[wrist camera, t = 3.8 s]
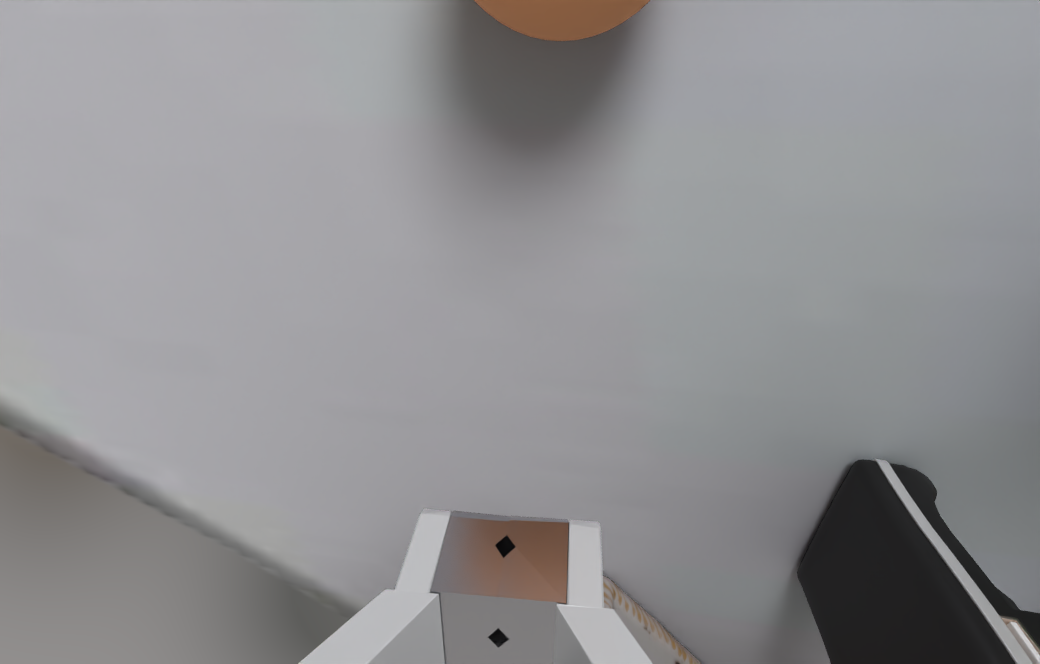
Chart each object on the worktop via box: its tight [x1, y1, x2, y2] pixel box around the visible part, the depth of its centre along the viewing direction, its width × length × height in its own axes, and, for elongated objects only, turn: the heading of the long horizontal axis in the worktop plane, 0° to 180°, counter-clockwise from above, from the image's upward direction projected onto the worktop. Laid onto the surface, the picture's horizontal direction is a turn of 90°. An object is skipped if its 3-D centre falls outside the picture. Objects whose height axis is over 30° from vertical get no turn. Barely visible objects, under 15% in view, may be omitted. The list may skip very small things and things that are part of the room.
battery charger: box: [797, 459, 1040, 664], centre depth 18 cm, size 7×4×11 cm, turn 173°
